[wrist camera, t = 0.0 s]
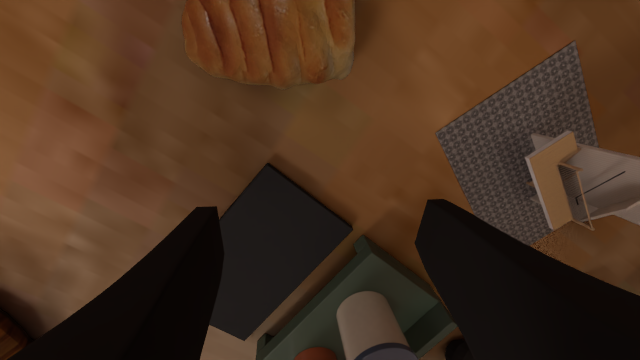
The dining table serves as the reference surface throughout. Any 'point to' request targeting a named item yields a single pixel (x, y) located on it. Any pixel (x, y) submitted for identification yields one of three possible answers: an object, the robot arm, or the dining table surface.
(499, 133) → the architectural model
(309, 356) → the rust-orange cylinder
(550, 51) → the dining table surface
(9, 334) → the croissant
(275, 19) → the pastry
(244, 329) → the placemat
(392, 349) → the pot
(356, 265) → the shelf
